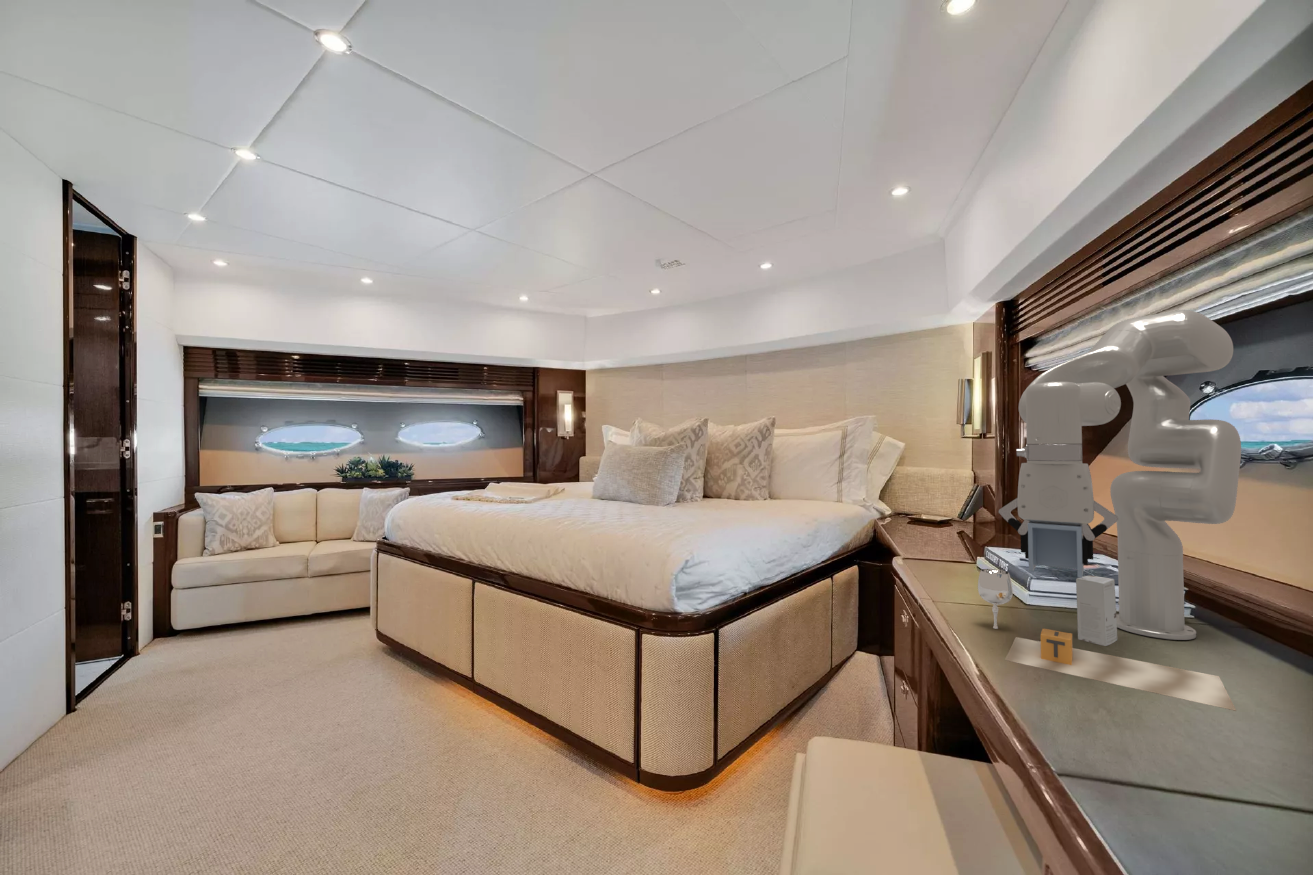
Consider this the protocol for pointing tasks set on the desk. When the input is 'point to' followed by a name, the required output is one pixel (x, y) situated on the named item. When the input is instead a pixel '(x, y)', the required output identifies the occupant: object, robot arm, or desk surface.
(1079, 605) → the skincare box
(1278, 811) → the desk surface
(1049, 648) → the letter cube
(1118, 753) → the desk surface
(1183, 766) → the desk surface
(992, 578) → the wineglass
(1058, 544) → the grey open-front cubby
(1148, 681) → the board
